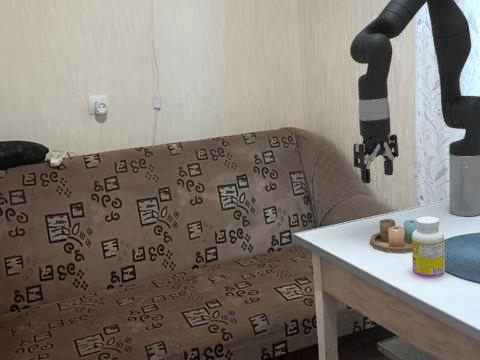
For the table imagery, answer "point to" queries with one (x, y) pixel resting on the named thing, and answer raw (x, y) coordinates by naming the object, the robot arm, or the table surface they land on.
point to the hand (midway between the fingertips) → (377, 178)
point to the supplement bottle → (428, 248)
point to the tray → (385, 247)
